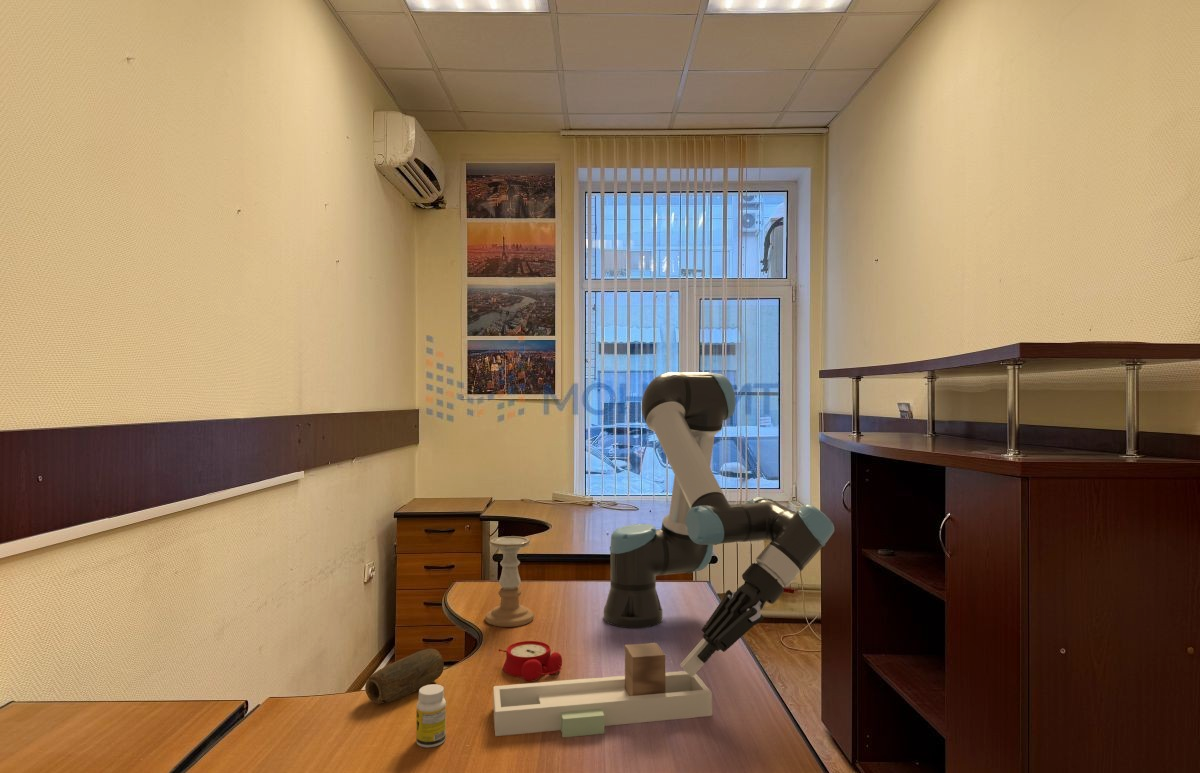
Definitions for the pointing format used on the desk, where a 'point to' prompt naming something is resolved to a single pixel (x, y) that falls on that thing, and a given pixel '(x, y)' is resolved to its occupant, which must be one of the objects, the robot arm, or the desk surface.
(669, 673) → the board
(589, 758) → the desk surface
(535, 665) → the alarm clock
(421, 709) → the supplement bottle
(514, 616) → the candle holder
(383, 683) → the hollow wooden log
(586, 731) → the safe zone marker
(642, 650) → the walnut block
